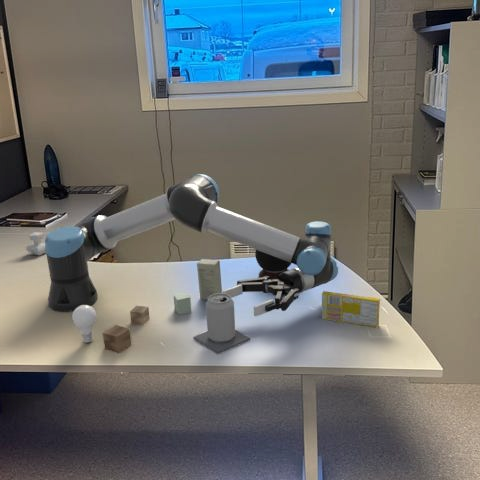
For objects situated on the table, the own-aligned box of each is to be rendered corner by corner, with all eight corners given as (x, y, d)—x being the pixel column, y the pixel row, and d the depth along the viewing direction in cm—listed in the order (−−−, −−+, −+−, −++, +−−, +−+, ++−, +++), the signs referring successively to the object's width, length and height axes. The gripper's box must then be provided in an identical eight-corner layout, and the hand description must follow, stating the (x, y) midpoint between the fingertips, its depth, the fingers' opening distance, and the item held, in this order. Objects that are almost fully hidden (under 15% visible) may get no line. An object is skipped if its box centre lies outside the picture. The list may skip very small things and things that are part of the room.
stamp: (41, 249, 229) (38, 229, 226) (53, 251, 226) (50, 231, 223) (24, 256, 221) (21, 236, 218) (37, 258, 218) (33, 238, 215)
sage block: (174, 309, 171) (173, 294, 170) (187, 306, 173) (186, 292, 171) (178, 315, 168) (177, 299, 166) (191, 312, 169) (190, 297, 168)
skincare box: (222, 295, 180) (220, 259, 176) (217, 300, 176) (215, 264, 172) (204, 293, 182) (201, 258, 178) (198, 298, 178) (196, 262, 174)
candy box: (379, 325, 158) (380, 298, 155) (377, 328, 156) (379, 301, 153) (323, 316, 164) (323, 290, 161) (321, 319, 162) (321, 293, 159)
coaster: (193, 338, 154) (193, 336, 154) (225, 325, 160) (225, 323, 160) (217, 354, 146) (217, 352, 146) (250, 339, 152) (250, 337, 152)
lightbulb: (78, 337, 157) (73, 301, 153) (101, 335, 157) (96, 300, 154) (74, 348, 151) (68, 312, 147) (98, 347, 151) (93, 310, 148)
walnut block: (104, 349, 151) (102, 332, 149) (117, 340, 155) (115, 324, 153) (118, 353, 148) (116, 336, 146) (131, 345, 152) (129, 328, 150)
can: (232, 345, 149) (230, 304, 145) (204, 343, 150) (202, 302, 146) (237, 331, 156) (236, 292, 152) (211, 329, 157) (209, 290, 153)
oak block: (131, 323, 164) (129, 311, 162) (137, 317, 167) (136, 305, 166) (143, 325, 163) (142, 312, 161) (149, 319, 166) (148, 306, 165)
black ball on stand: (302, 276, 191) (302, 235, 186) (272, 287, 184) (272, 244, 179) (277, 266, 201) (276, 226, 196) (248, 275, 194) (246, 234, 189)
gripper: (326, 306, 157) (269, 331, 145) (267, 281, 175) (212, 301, 163) (326, 282, 154) (268, 305, 142) (266, 258, 173) (210, 277, 161)
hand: (238, 303), depth 153 cm, fingers open, 13 cm apart
